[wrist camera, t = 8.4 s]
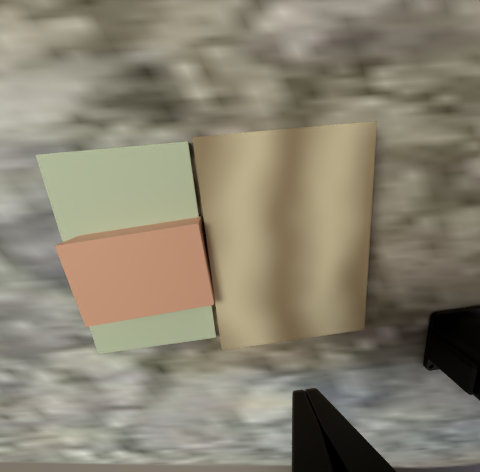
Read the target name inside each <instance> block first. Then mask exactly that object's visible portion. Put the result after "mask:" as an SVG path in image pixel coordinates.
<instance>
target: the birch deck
mask: <svg viewBox="0 0 480 472" xmlns="http://www.w3.org/2000/svg"><path fill="white" fill-rule="evenodd" d="M376 130H377V121H374V122H363V123H351V124H340V125H328V126H317V127H305V128H294V129H282V130H271V131H259V132H248V133H236V134H225V135H213V136H202V137H192V138H193V145H194V153H195V160H196V167H197V174H198V181H199V189H200V196H201V203H202V210H203V218H204V225H205V232H206V239H207V246H208V254H209V261H210V268H211V275H212V282H213V290H214V297H215V304H216V311H217V318H218V326H219V333H220V340H221V347H222V350H226V349H233V348H240V347H247V346H254V345H261V344H268V343H275V342H282V341H289V340H296V339H303V338H310V337H317V336H324V335H331V334H338V333H345V332H351V331H358V330H364V327H365V311H366V295H367V278H368V262H369V245H370V229H371V212H372V196H373V179H374V163H375V147H376Z"/></svg>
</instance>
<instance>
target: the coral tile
mask: <svg viewBox="0 0 480 472" xmlns="http://www.w3.org/2000/svg"><path fill="white" fill-rule="evenodd" d="M55 247H56V250H57V253H58V255H59V258H60V261H61V263H62V266H63V269H64V271H65V274H66V276H67V279H68V282H69V284H70V287H71V290H72V292H73V295H74V297H75V300H76V303H77V305H78V308H79V311H80V313H81V316H82V319H83V321H84V324H85V326H86V327H89V326H95V325H100V324H106V323H112V322H118V321H123V320H129V319H135V318H141V317H147V316H152V315H158V314H164V313H170V312H175V311H181V310H187V309H193V308H198V307H204V306H210V305H214V290H213V282H212V275H211V268H210V261H209V256H208V250H207V245H206V240H205V234H204V229H203V224H202V219H201V217H196V218H189V219H183V220H176V221H170V222H163V223H157V224H150V225H144V226H137V227H131V228H124V229H118V230H111V231H105V232H99V233H92V234H86V235H79V236H76V237H74V238H72V239H70V240H67V241H65V242H63V243H60V244H58V245H56V246H55Z"/></svg>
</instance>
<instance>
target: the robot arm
mask: <svg viewBox="0 0 480 472" xmlns="http://www.w3.org/2000/svg"><path fill="white" fill-rule="evenodd" d="M423 366H424V367H425V368H426V369H427V370H429V371H431V370H437V369H440V370H442V371H443V372H444V373H445V374H446V375H447V376H448V377H450V378H451V379H452V380H453V381H454V382H455V383H456V384H457V385H459V386H460V387H461V388H462V389H463V390H464V391H465V392H467V393H468V394H469V395H474V396H475V397H476V398H478V399H479V400H480V306H474V307H467V308H460V309H453V310H446V311H439V312H434V313H433V314H432V315H431V317H430V323H429V329H428V336H427V343H426V350H425V356H424V363H423ZM292 472H396V471H395V470H394V469H393V468H392V467H391V466H390V464H389V463H388V462H387V461H386V460H385V459H384V458H383V457H382V456H381V455H380V454H379V453H378V452H377V451H376V450H375V449H374V448H373V447H372V446H371V445H370V444H369V443H368V442H367V440H366V439H365V438H364V437H363V436H362V435H361V434H360V433H359V432H358V431H357V430H356V429H355V428H354V427H353V426H352V425H351V424H350V423H349V422H348V421H347V420H346V419H345V418H344V416H343V415H342V414H341V413H340V412H339V411H338V410H337V409H336V408H335V407H334V406H333V405H332V404H331V403H330V402H329V401H328V400H327V399H326V398H325V397H324V396H323V395H322V394H321V393H320V391H319V390H318V389H316V388H311V389H305V391H304V390H296V391H293V400H292Z"/></svg>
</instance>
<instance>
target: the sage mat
mask: <svg viewBox="0 0 480 472" xmlns="http://www.w3.org/2000/svg"><path fill="white" fill-rule="evenodd" d="M36 158H37V161H38V165H39V168H40V171H41V174H42V177H43V180H44V184H45V187H46V190H47V193H48V196H49V199H50V203H51V206H52V209H53V212H54V215H55V218H56V222H57V225H58V228H59V231H60V234H61V238H62V241H63V242H65V241H67V240H70V239H72V238H74V237H76V236H79V235H86V234H92V233H99V232H105V231H111V230H118V229H124V228H131V227H137V226H144V225H150V224H157V223H163V222H170V221H176V220H183V219H189V218H196V217H199V212H198V205H197V198H196V192H195V185H194V178H193V171H192V164H191V157H190V150H189V143H188V142H178V143H166V144H155V145H144V146H132V147H121V148H109V149H98V150H87V151H75V152H64V153H53V154H41V155H36ZM90 330H91V333H92V336H93V339H94V342H95V345H96V349H97V352H98V354H102V353H109V352H116V351H123V350H130V349H137V348H144V347H151V346H159V345H166V344H173V343H180V342H187V341H194V340H201V339H208V338H215V337H216V331H215V324H214V317H213V310H212V305H210V306H204V307H198V308H193V309H187V310H181V311H175V312H170V313H164V314H158V315H152V316H147V317H141V318H135V319H129V320H123V321H118V322H112V323H106V324H100V325H95V326H90Z"/></svg>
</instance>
